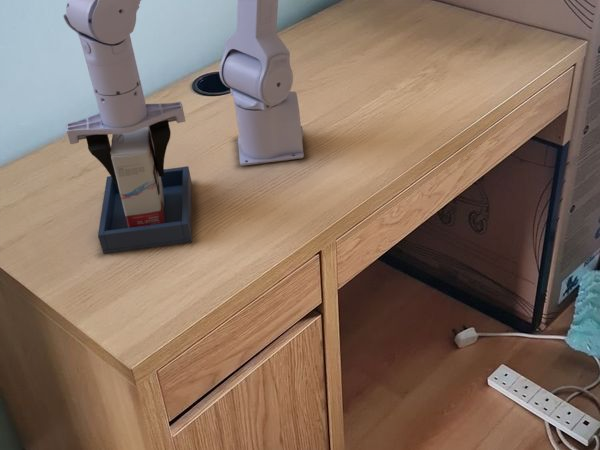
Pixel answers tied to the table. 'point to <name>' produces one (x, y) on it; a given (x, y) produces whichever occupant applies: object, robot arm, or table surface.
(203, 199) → the table surface
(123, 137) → the ink box
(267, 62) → the robot arm
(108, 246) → the dark blue tray
